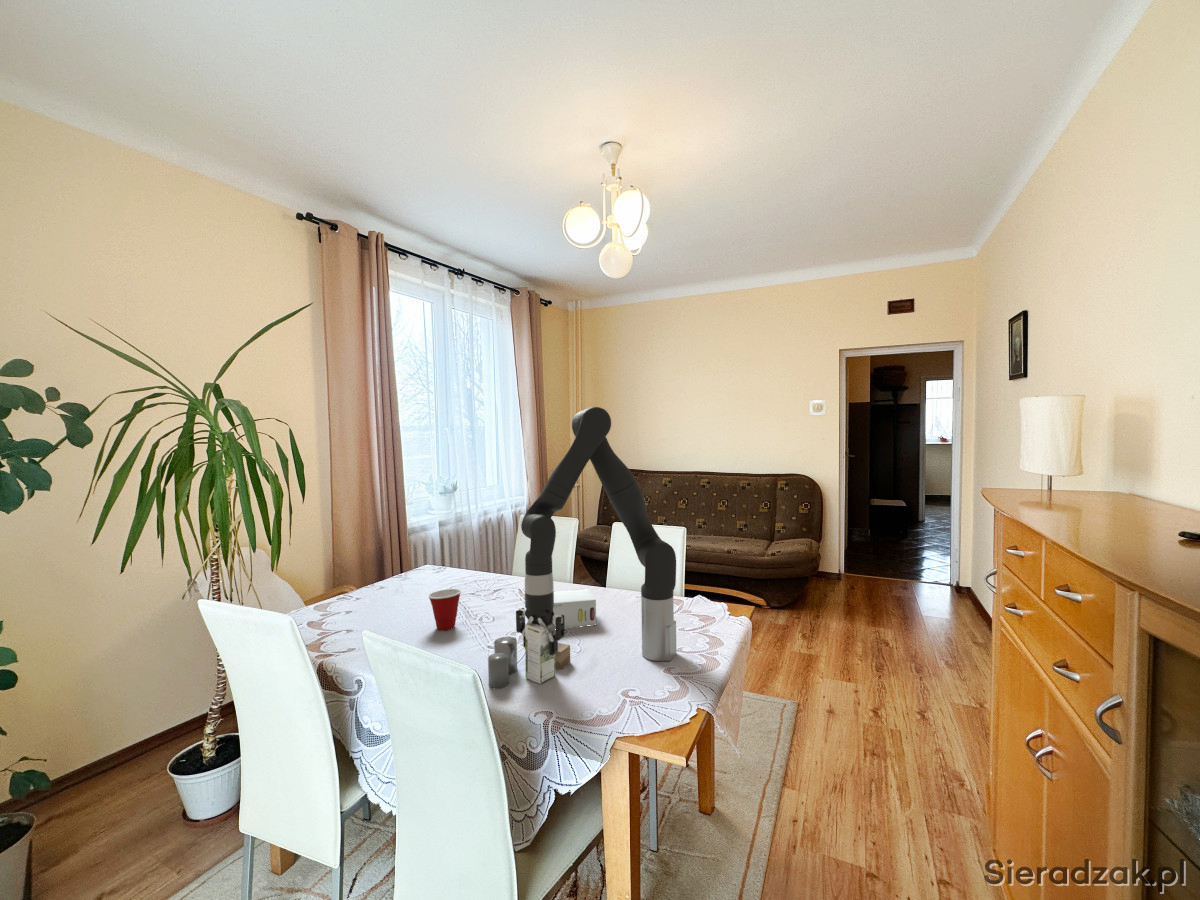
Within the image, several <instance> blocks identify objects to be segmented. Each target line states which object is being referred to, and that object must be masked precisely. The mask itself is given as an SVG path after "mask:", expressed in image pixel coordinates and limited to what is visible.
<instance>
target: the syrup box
mask: <svg viewBox="0 0 1200 900" xmlns="http://www.w3.org/2000/svg"><path fill="white" fill-rule="evenodd" d="M554 625H555V624H554ZM552 627H553V625H552V624H550V625H549V626H548V629H550V628H552ZM551 632H552V631H551ZM549 641H550V639H549V637H548V635H547V634H545V628H544V627H542V626H541V625H538V624H527V623H525V647H524V651H525V678H526V679H528V680H530V681H532V682H534V683H537V684H539V685H541V684H543V683H544V682H545V683H546V682H547V681H549V680H550V679H551V680H552V679H553V678H554V677H556V670H557V669H555V654H554V655H553V656H552V655H550V645H549Z"/></svg>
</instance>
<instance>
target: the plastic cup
mask: <svg viewBox="0 0 1200 900" xmlns="http://www.w3.org/2000/svg"><path fill="white" fill-rule="evenodd" d="M461 593H462V589H459V588H447V589H440V590H437V591H433V592H430V593H429V594H427V597H428V599H429V601H430V604H431V607H432V612H433V618H434V621H435V626H436V627H435V628H436V629H437V630H438V631H441V630H445V631H449V630H448V629H450V630H452V629H454V628H455V627H456V620H457V615H458V608H459V603H460V596H461ZM454 626H455V627H454ZM453 627H454V628H453ZM451 628H452V629H451Z"/></svg>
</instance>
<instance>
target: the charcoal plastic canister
mask: <svg viewBox="0 0 1200 900" xmlns="http://www.w3.org/2000/svg"><path fill="white" fill-rule="evenodd" d="M487 669H488V671H487V673H488V674H487V675H488V676H487V677H488V687H489V686H490V687H491V689H493V688H495V689H496V690H497V689H498V688H499V689H503V688H505V686H506V687H508V685H509V675H508V655H507V654H505V653H492V654H490V655H488V657H487ZM490 687H489V688H490ZM495 689H494V690H495Z"/></svg>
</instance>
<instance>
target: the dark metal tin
mask: <svg viewBox="0 0 1200 900" xmlns="http://www.w3.org/2000/svg"><path fill="white" fill-rule="evenodd" d="M517 642H518V641H517V638H516V637H513V636H501V637H499V638H496V639H495V640H494V641H493V646H494V647H493V648H494V650H493V651H494V653H493V654H495V653H505V654H507V655H508V676H510V675H512V674H515V673H516V672H517V671H518V643H517Z"/></svg>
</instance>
